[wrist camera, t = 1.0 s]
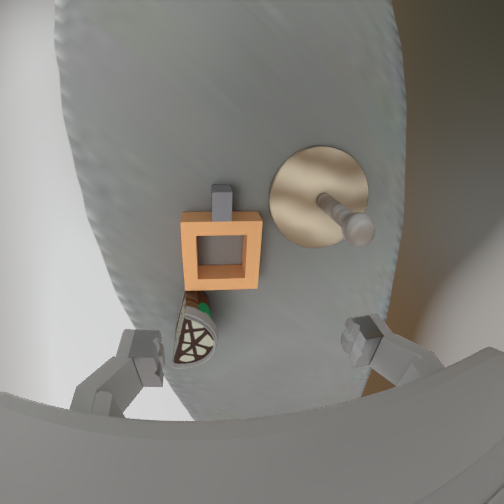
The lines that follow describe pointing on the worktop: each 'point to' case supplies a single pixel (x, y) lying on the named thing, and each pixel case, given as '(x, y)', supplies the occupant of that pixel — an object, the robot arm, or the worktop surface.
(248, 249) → the orange square frame
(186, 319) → the food container
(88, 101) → the worktop surface
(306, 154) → the round peg stand
